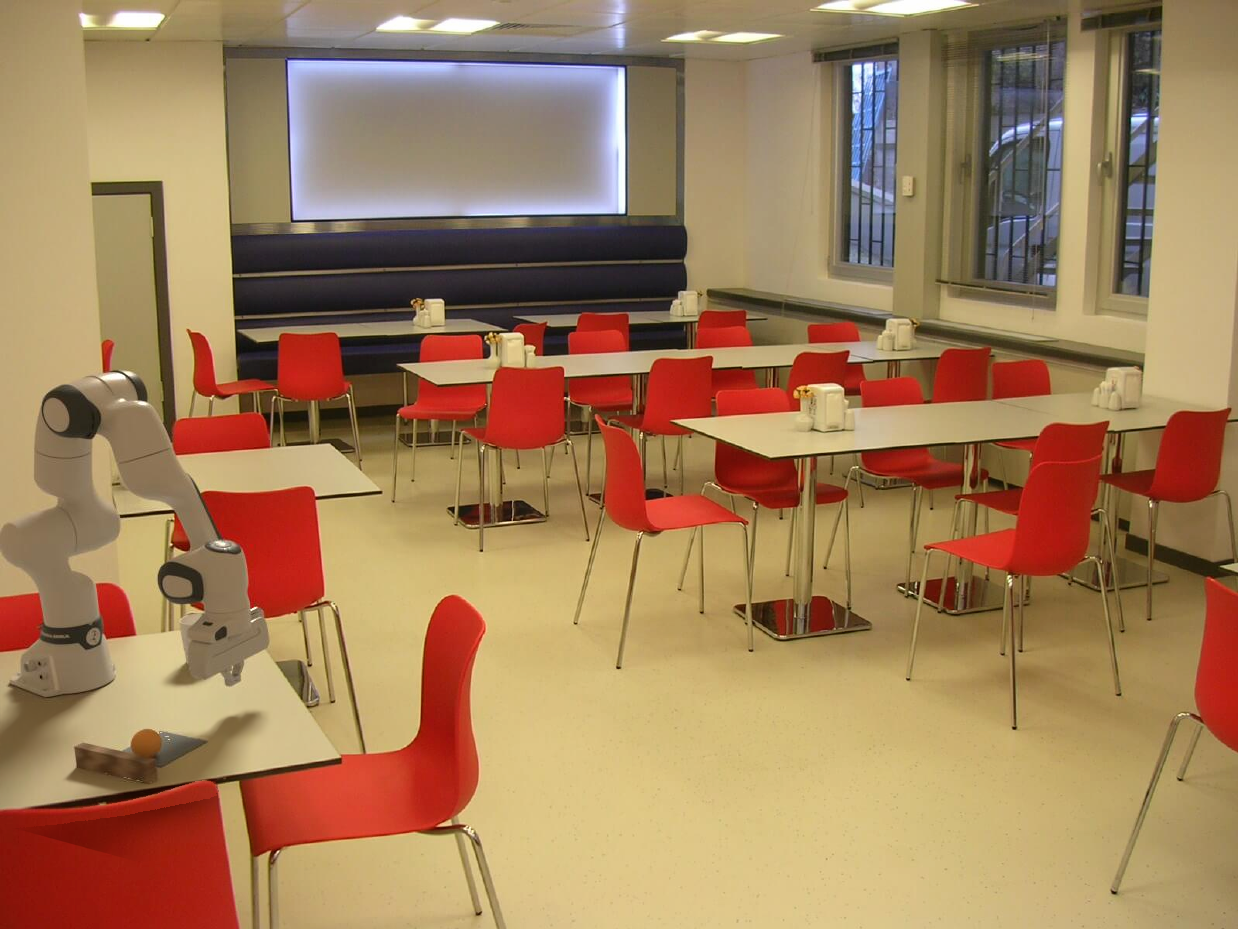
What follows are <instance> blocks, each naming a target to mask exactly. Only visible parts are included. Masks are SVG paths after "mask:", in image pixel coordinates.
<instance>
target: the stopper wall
mask: <svg viewBox="0 0 1238 929" xmlns="http://www.w3.org/2000/svg"><path fill="white" fill-rule="evenodd" d="M73 749H74V750H73V751H74V756H75V757H74V758H75V765H76V767H77V768H80V769H84V770H89V771H93V772H98V773H101V774H105V773H107V774H106V775H109V774H111V775H110V776H114V775H115V776H114V777H118V776H119V778H122V777H126V778H130V779H132V780H131V781H135V780H139V781H142V782H141V783H143V782H145V783H144V784H147V783H149V784H152V783H154V782H155V781H157V780H158V770H157V766H156V761H155V759H154V758H149V757H145V756H140V755H136V754H132V753H127V752H123V750H119V749H118V750H117V749H113V748H109V747H104V746H101V745H96V744H91V743H86V742H81V743H79V744H76V745H75V746H74V747H73ZM126 778H125V779H126ZM130 779H129V780H130ZM154 780H155V781H154ZM139 781H138V782H139ZM153 781H154V782H153ZM151 782H152V783H151ZM149 784H148V785H149Z"/></svg>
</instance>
